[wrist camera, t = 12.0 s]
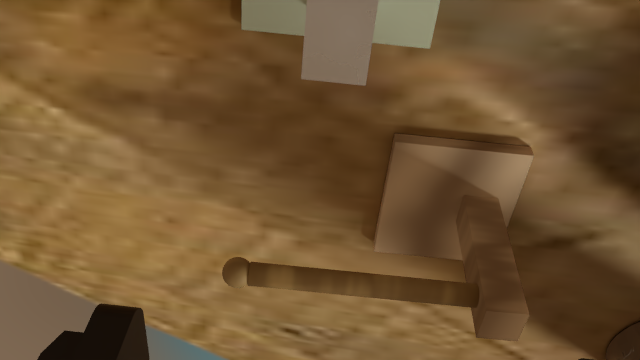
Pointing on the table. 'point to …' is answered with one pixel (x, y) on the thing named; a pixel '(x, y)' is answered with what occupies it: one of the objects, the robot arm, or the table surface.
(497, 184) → the stand
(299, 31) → the mat
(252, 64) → the table surface
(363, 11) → the pinkish grey arch
